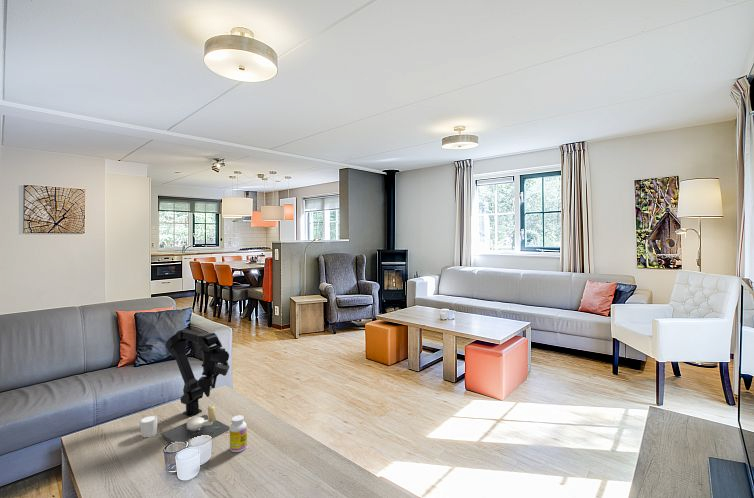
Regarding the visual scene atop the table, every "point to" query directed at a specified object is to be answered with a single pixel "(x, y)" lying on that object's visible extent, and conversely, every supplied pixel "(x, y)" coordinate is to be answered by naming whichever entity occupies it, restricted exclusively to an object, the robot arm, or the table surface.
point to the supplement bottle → (238, 434)
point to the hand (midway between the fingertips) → (210, 392)
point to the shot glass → (148, 426)
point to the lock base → (189, 435)
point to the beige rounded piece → (202, 420)
